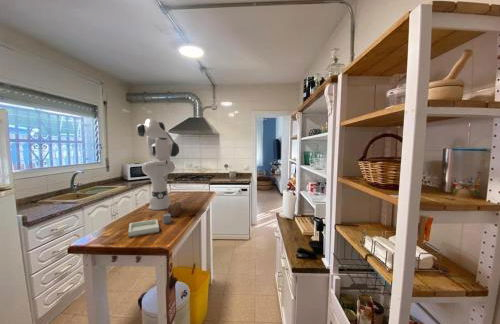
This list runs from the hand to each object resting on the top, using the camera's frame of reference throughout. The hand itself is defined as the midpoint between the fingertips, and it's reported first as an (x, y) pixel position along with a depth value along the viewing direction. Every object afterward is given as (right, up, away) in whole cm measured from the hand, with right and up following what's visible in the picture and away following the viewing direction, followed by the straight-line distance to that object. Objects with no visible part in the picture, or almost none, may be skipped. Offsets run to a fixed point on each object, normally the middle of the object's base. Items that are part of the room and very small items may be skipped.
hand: (164, 182), depth 147 cm
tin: (+1, -26, +18) cm, 32 cm away
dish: (-7, -28, -13) cm, 32 cm away
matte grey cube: (+2, -27, +1) cm, 27 cm away
